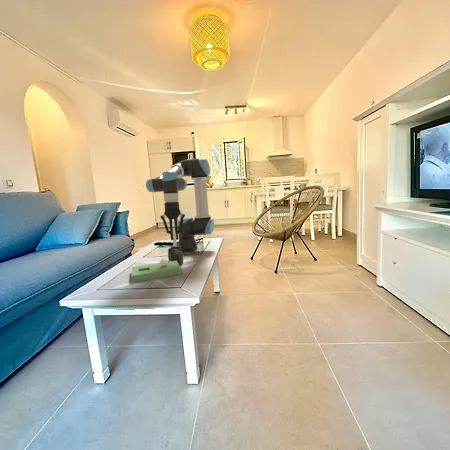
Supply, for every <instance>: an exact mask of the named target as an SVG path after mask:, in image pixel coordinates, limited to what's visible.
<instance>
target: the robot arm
mask: <svg viewBox="0 0 450 450" xmlns="http://www.w3.org/2000/svg"><path fill="white" fill-rule="evenodd" d="M210 167H211V166H210V163H209V161H208V160H207V158H205V157H203V158H202V157H197V158H190V159H183V160H181V161H178V162H176V163H174V164H173V165H171V167H170V169H168V170H166V171H163V172H161V173H162V174H160V175H158V176H157V177H155V178H149V179H147V180H146V183H145V187H146V189H147V192H149V193H160V192H163V202H164V203H163V204H164V213H163V214H161V215H160V216H159V217H160V219H161V220H162V223H163V225H164V228H165V231H166V234H170V240H171V241H172V246H174V247H175V246H182V249H181V251H183V252H190V251H191V250H192V251H196V250H197V249H198V248H199V247H198V243H197V240H196V239H195V236H208V235H212V234H213V232H214V229H215V221H214V219H213V218H212V216H211V215H210V214H209V204H208V190H207V179H208V178H209V176H210V174H211V168H210ZM184 177H191V180H193V187H194V188H193V189H194V199H195V210H196V212H195V213H196V214H195V216H194V218H193V216H192V217H186V218H185V216H186V214H184V213H182V211H181V210H180V203H179V199H180V198H179V197H180V196H179V192H180V191H184V190H186V188H187V186H188V183H187V182H188V181H187V180H186V179H185V178H184ZM166 218H167V219H168V222H169V225H168V223H167V221H166ZM178 218H179V219H178ZM173 224H174V227H173ZM177 240H178V241H177ZM195 249H196V250H195ZM192 251H191V252H192Z"/></svg>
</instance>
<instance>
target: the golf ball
mask: <svg viewBox="0 0 450 450" xmlns="http://www.w3.org/2000/svg"><path fill="white" fill-rule="evenodd" d="M167 262H168V261H167V259H165V258H162V259H160V260H159V263H160V265H161V266H162V267H164V266H166V265H167Z"/></svg>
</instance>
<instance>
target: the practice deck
mask: <svg viewBox="0 0 450 450" xmlns="http://www.w3.org/2000/svg"><path fill="white" fill-rule="evenodd" d="M180 265H181V264H178V262H177V261H169V260H168V261H167V265H166V266H164V267H162V266H161V265H160V262H157V263H150V264H142V265H135V266H132V267H131V283H136V282H143V281H147V280H148V281H149V280H153V279H155V280H156V279H160V278H164V277H165V278H167V277H171V276H172V277H173V276H178V275H183V270H182V267H181V266H180Z"/></svg>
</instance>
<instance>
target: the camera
mask: <svg viewBox="0 0 450 450" xmlns="http://www.w3.org/2000/svg"><path fill="white" fill-rule="evenodd" d="M181 249H182V246H175V247H174V246H173V245H171V246H170V247H169V248H168V249H167V257H168V262H169V261H177V262H178V264H179V265H181V264H184V256H183V255H184V251H181Z"/></svg>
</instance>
